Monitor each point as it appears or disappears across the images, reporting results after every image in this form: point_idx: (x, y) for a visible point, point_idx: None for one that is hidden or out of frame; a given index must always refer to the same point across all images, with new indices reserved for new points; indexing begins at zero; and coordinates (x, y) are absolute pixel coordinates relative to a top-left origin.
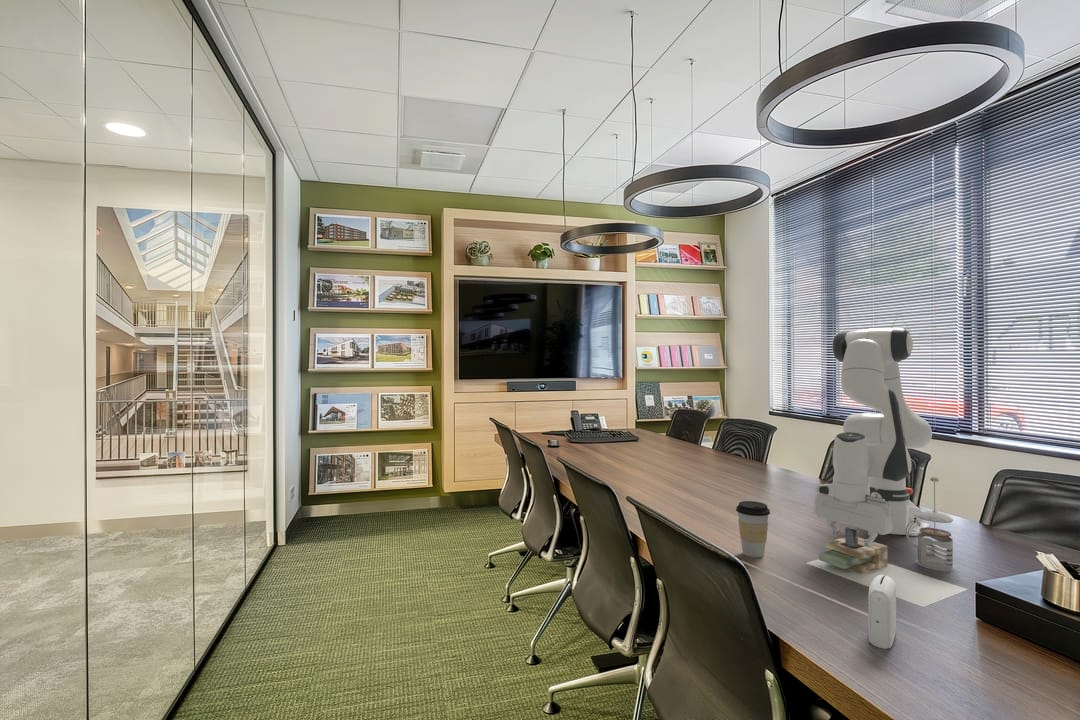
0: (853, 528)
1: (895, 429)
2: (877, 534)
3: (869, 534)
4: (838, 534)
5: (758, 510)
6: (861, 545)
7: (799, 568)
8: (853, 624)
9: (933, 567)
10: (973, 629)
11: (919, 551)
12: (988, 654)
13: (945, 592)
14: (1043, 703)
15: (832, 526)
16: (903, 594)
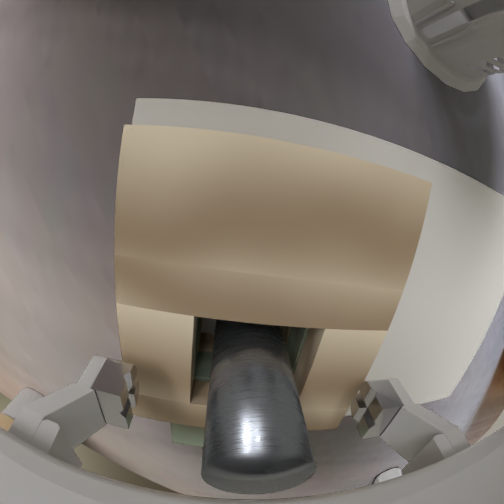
0: (265, 462)
1: None
2: (457, 432)
3: (409, 470)
4: (132, 384)
5: None
6: (300, 326)
7: (151, 425)
8: (350, 487)
9: (467, 76)
10: (488, 382)
11: (460, 35)
12: (477, 417)
13: (499, 282)
14: (480, 436)
15: (81, 433)
16: (426, 383)
